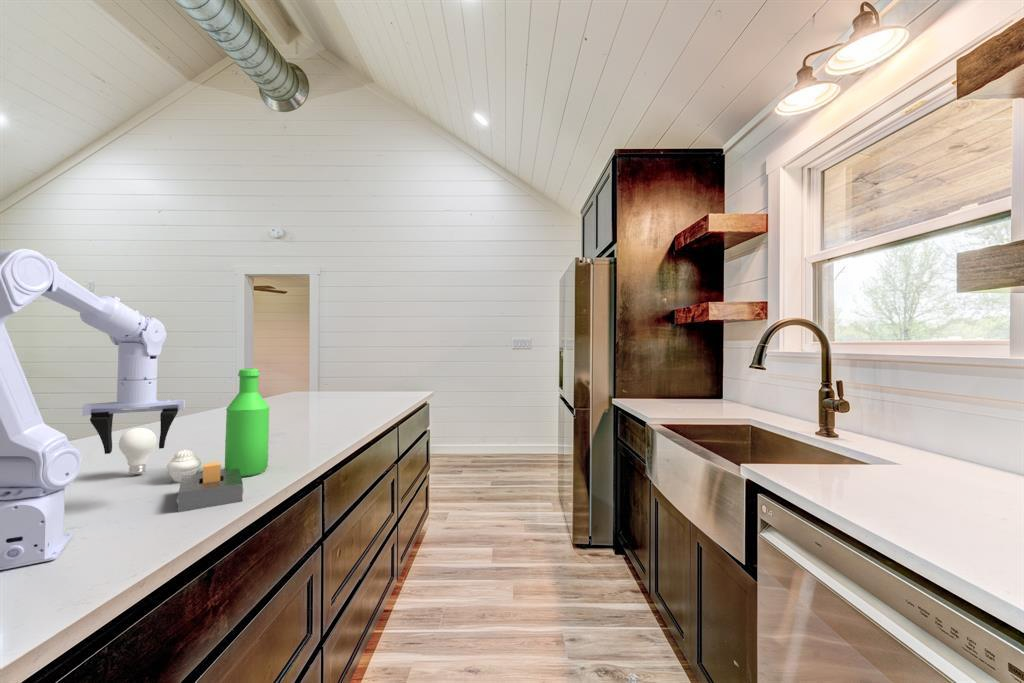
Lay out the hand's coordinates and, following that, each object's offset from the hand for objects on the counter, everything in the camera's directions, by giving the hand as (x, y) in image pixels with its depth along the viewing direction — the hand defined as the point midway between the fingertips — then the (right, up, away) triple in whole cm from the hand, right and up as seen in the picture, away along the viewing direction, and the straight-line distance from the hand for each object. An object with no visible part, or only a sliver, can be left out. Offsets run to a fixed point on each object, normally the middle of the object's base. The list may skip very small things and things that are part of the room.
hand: (135, 450), depth 81 cm
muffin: (-2, -11, +15) cm, 18 cm away
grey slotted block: (+10, -11, +6) cm, 16 cm away
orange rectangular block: (+11, -10, +5) cm, 16 cm away
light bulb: (-15, -11, +17) cm, 25 cm away
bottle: (+8, -11, +21) cm, 25 cm away
